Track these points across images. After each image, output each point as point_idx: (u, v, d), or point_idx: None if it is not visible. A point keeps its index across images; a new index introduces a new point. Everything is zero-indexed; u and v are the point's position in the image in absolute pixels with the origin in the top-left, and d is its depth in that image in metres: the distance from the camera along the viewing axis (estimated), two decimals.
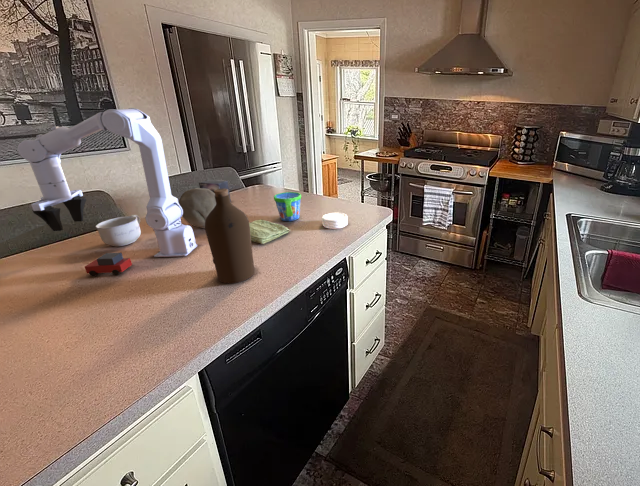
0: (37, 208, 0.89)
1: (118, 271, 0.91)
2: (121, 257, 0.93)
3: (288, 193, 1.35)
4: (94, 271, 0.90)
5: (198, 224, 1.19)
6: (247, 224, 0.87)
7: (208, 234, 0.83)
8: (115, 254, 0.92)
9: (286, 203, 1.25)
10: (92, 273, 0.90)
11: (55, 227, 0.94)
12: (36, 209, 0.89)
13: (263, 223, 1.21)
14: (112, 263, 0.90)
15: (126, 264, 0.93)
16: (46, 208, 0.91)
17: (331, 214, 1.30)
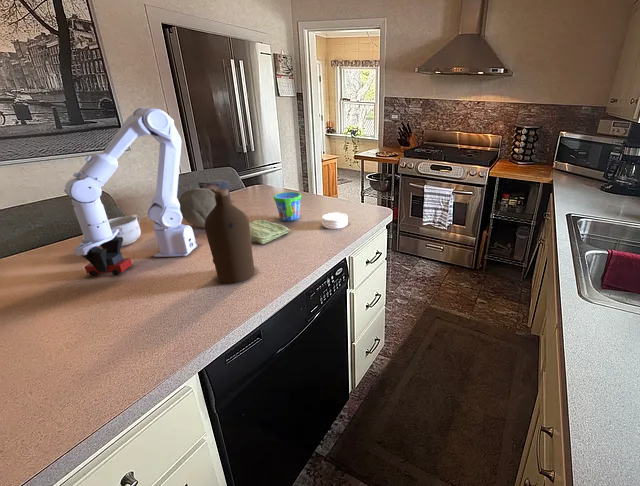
0: (80, 253, 0.83)
1: (118, 271, 0.91)
2: (121, 257, 0.93)
3: (288, 193, 1.35)
4: (94, 271, 0.90)
5: (198, 224, 1.19)
6: (247, 224, 0.87)
7: (208, 234, 0.83)
8: (115, 254, 0.92)
9: (286, 203, 1.25)
10: (92, 273, 0.90)
11: (100, 268, 0.89)
12: (79, 254, 0.83)
13: (263, 223, 1.21)
14: (112, 263, 0.90)
15: (126, 264, 0.93)
16: (93, 249, 0.86)
17: (331, 214, 1.30)
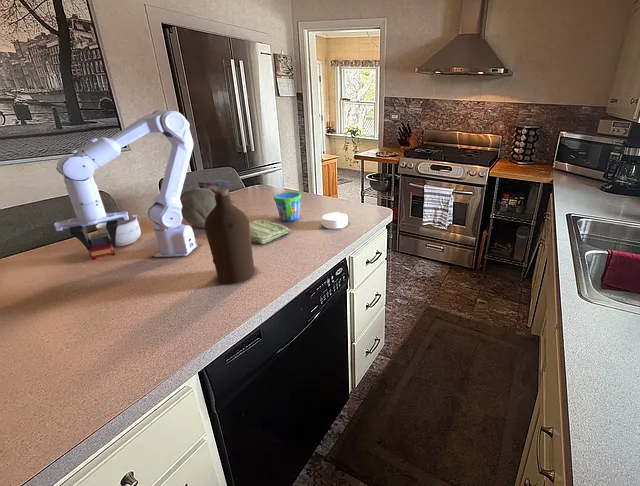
0: (128, 216, 0.92)
1: None
2: None
3: (288, 193, 1.35)
4: None
5: (198, 224, 1.19)
6: (247, 224, 0.87)
7: (208, 234, 0.83)
8: (97, 234, 0.90)
9: (286, 203, 1.25)
10: (114, 251, 0.90)
11: (115, 242, 0.91)
12: (128, 217, 0.91)
13: (263, 223, 1.21)
14: None
15: None
16: None
17: (331, 214, 1.30)
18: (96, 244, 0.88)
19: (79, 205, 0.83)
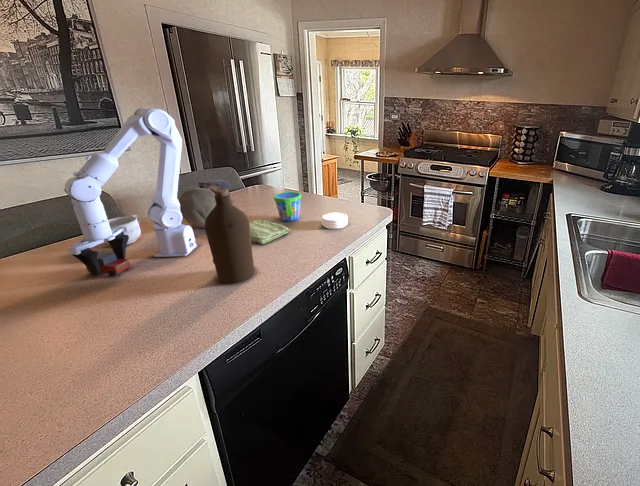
0: None
1: None
2: None
3: (288, 193, 1.35)
4: None
5: (198, 224, 1.19)
6: (247, 224, 0.87)
7: (208, 234, 0.83)
8: None
9: (286, 203, 1.25)
10: None
11: None
12: None
13: (263, 223, 1.21)
14: None
15: None
16: None
17: (331, 214, 1.30)
18: (107, 262, 0.91)
19: (98, 223, 0.86)
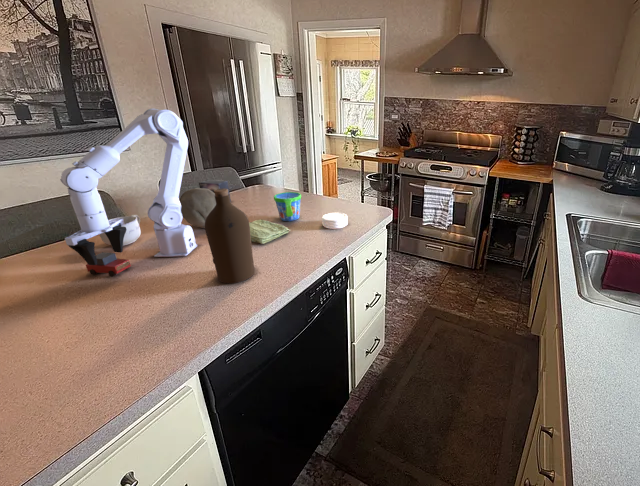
0: None
1: None
2: None
3: (288, 193, 1.35)
4: None
5: (198, 224, 1.19)
6: (247, 224, 0.87)
7: (208, 234, 0.83)
8: (96, 256, 0.91)
9: (286, 203, 1.25)
10: None
11: None
12: None
13: (263, 223, 1.21)
14: None
15: None
16: None
17: (331, 214, 1.30)
18: (107, 262, 0.91)
19: (95, 214, 0.85)
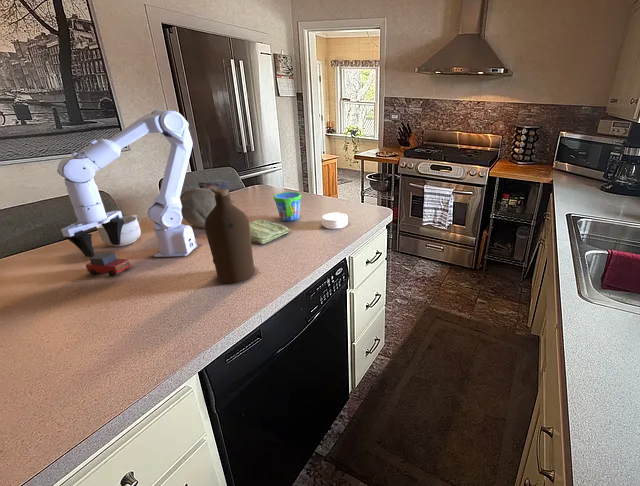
0: None
1: None
2: None
3: (288, 193, 1.35)
4: None
5: (198, 224, 1.19)
6: (247, 224, 0.87)
7: (208, 234, 0.83)
8: (96, 256, 0.91)
9: (286, 203, 1.25)
10: None
11: None
12: None
13: (263, 223, 1.21)
14: None
15: None
16: None
17: (331, 214, 1.30)
18: (107, 262, 0.91)
19: (92, 206, 0.84)
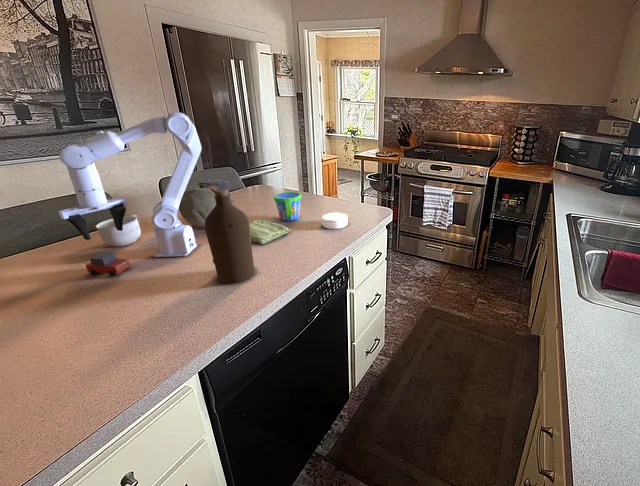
0: None
1: None
2: None
3: (288, 193, 1.35)
4: None
5: (198, 224, 1.19)
6: (247, 224, 0.87)
7: (208, 234, 0.83)
8: (96, 256, 0.91)
9: (286, 203, 1.25)
10: None
11: None
12: None
13: (263, 223, 1.21)
14: None
15: None
16: None
17: (331, 214, 1.30)
18: (107, 262, 0.91)
19: (88, 191, 0.87)
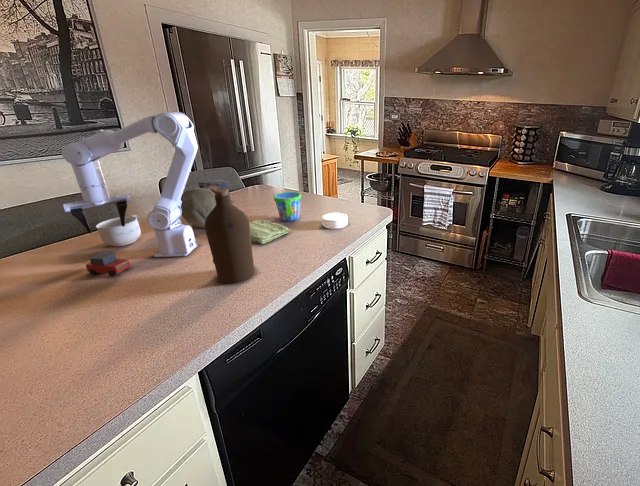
0: (129, 198, 1.00)
1: None
2: None
3: (288, 193, 1.35)
4: None
5: (198, 224, 1.19)
6: (247, 224, 0.87)
7: (208, 234, 0.83)
8: (96, 256, 0.91)
9: (286, 203, 1.25)
10: None
11: None
12: None
13: (263, 223, 1.21)
14: None
15: None
16: None
17: (331, 214, 1.30)
18: (107, 262, 0.91)
19: (87, 187, 0.91)
